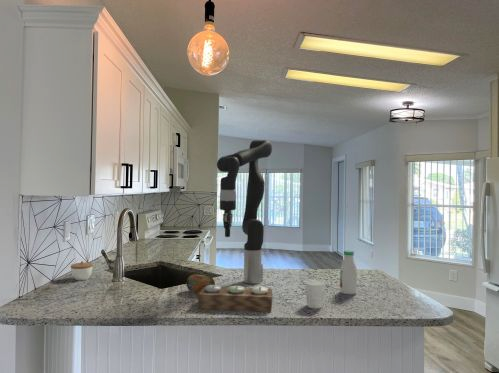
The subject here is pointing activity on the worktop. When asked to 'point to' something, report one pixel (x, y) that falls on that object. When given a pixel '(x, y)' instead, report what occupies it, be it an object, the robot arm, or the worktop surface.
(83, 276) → the lidded jar
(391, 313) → the worktop surface
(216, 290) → the grey knob
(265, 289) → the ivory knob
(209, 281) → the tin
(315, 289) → the white cup
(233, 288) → the sage knob
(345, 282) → the milk bottle
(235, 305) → the brown wooden block
